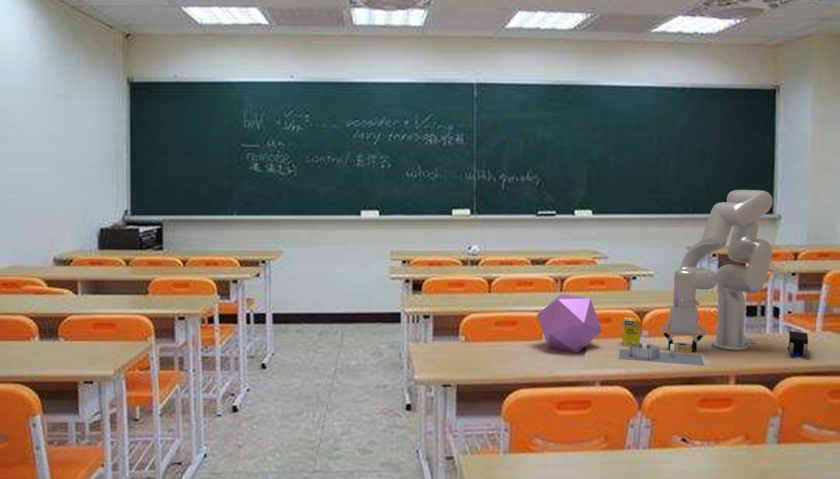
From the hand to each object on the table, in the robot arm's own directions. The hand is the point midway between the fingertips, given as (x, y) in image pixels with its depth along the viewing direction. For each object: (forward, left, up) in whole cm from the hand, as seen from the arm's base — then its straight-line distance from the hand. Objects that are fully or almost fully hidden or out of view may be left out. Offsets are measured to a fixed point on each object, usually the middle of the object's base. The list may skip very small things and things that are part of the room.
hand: (682, 351), depth 266 cm
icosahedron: (+40, +5, -1) cm, 41 cm away
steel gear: (+13, +13, 0) cm, 19 cm away
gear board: (+8, +12, -1) cm, 15 cm away
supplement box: (+18, -4, -1) cm, 18 cm away
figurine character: (-41, -13, -1) cm, 43 cm away
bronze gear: (0, 0, -1) cm, 1 cm away
